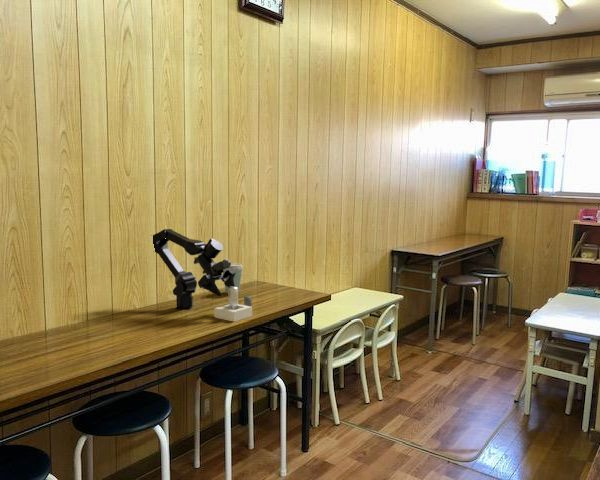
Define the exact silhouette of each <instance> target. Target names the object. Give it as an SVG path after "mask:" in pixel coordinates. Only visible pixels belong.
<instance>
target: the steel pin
mask: <svg viewBox="0 0 600 480" xmlns="http://www.w3.org/2000/svg"><path fill="white" fill-rule="evenodd" d="M227 295H228V297H227V298H228V304H229V309H231V310H236V309H238V304H239V293H238V287H235V286H232V287H228V294H227Z"/></svg>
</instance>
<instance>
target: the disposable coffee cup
mask: <svg viewBox="0 0 600 480" xmlns="http://www.w3.org/2000/svg"><path fill="white" fill-rule="evenodd" d="M230 269H234V270H235V272H236V274H235V276H234V279H233V280H234V285H235V287H238V292H239V293H240V289H241V281H242V276H243V269H244V267H243V265H242V263H241V264H240V263H232V262H231V265H230V267H229V268H226V269H224V272H223V273H222V274H224V273H225V272H226V270H230ZM224 288H225V289H224V291H225V293H226V294H227V293H228V287H227V286H226V285H225V284H224Z"/></svg>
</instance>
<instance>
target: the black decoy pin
mask: <svg viewBox="0 0 600 480" xmlns="http://www.w3.org/2000/svg"><path fill="white" fill-rule="evenodd" d="M252 298H253V297H252V296H251V295H249V296H248V295H246V296H244V297H243V299H244V301H243V305H245V306H251V307H252V308H253V306H252V304H253V303H252V301H253V299H252Z"/></svg>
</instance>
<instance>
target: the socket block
mask: <svg viewBox="0 0 600 480" xmlns="http://www.w3.org/2000/svg"><path fill="white" fill-rule="evenodd" d="M251 317H253V306H252V307H251V306H245V305H244V304H239V303H238V309H236V310H231V309H229V303H228V304H225V305H221V306H217V307H214V318H216V319H220V320H225V321H230V322H237V321H241V320H245V319H248V318H251Z"/></svg>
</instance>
